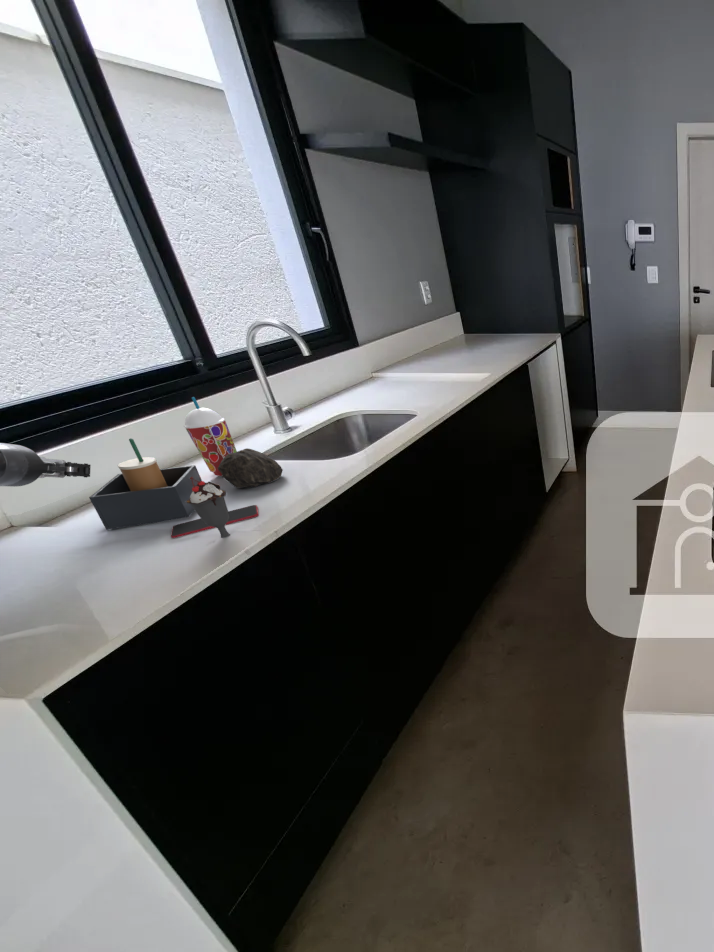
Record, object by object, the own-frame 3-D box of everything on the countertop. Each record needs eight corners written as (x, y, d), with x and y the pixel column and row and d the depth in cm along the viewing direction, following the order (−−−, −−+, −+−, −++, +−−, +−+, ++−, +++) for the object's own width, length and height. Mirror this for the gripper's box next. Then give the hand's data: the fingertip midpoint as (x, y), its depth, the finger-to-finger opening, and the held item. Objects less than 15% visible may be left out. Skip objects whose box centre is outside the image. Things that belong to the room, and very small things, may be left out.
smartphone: (172, 525, 120) (256, 504, 128) (174, 529, 121) (258, 507, 128) (170, 537, 115) (257, 514, 123) (172, 540, 115) (259, 517, 123)
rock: (294, 472, 146) (271, 437, 140) (260, 495, 137) (234, 459, 131) (264, 475, 148) (240, 441, 143) (228, 498, 139) (201, 463, 134)
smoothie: (252, 469, 150) (219, 394, 141) (216, 480, 144) (178, 403, 135) (239, 464, 154) (206, 392, 145) (203, 475, 148) (166, 400, 139)
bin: (106, 529, 120) (88, 497, 116) (133, 504, 131) (117, 473, 128) (189, 517, 125) (174, 486, 122) (207, 494, 137) (195, 465, 133)
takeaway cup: (136, 516, 124) (100, 445, 116) (146, 505, 129) (112, 436, 121) (172, 511, 126) (138, 441, 119) (180, 501, 131) (149, 432, 124)
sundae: (216, 552, 111) (180, 482, 105) (202, 544, 115) (166, 476, 108) (253, 537, 116) (221, 470, 109) (239, 531, 120) (207, 465, 113)
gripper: (55, 446, 99) (105, 453, 114) (-65, 437, 93) (4, 445, 108) (53, 489, 99) (103, 490, 114) (-66, 482, 93) (3, 484, 108)
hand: (55, 468), depth 111 cm, fingers open, 8 cm apart
